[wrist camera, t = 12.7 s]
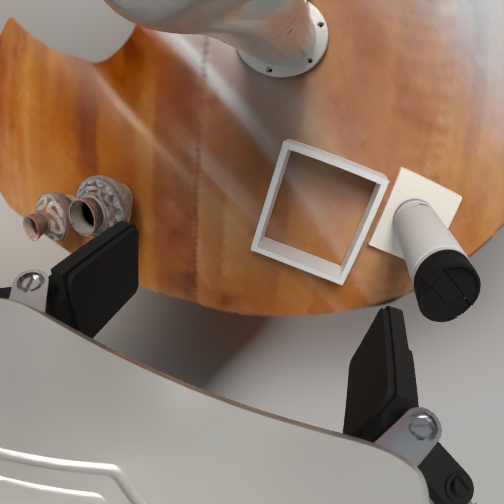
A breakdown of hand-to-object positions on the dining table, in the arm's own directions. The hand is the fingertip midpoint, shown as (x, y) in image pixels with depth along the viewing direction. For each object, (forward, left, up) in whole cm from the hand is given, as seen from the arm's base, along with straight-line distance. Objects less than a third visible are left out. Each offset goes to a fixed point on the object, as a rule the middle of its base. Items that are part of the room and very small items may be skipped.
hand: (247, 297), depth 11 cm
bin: (+7, +2, -35) cm, 35 cm away
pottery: (+20, -37, -35) cm, 55 cm away
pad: (+3, +15, -35) cm, 38 cm away
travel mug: (+3, +15, -34) cm, 37 cm away
